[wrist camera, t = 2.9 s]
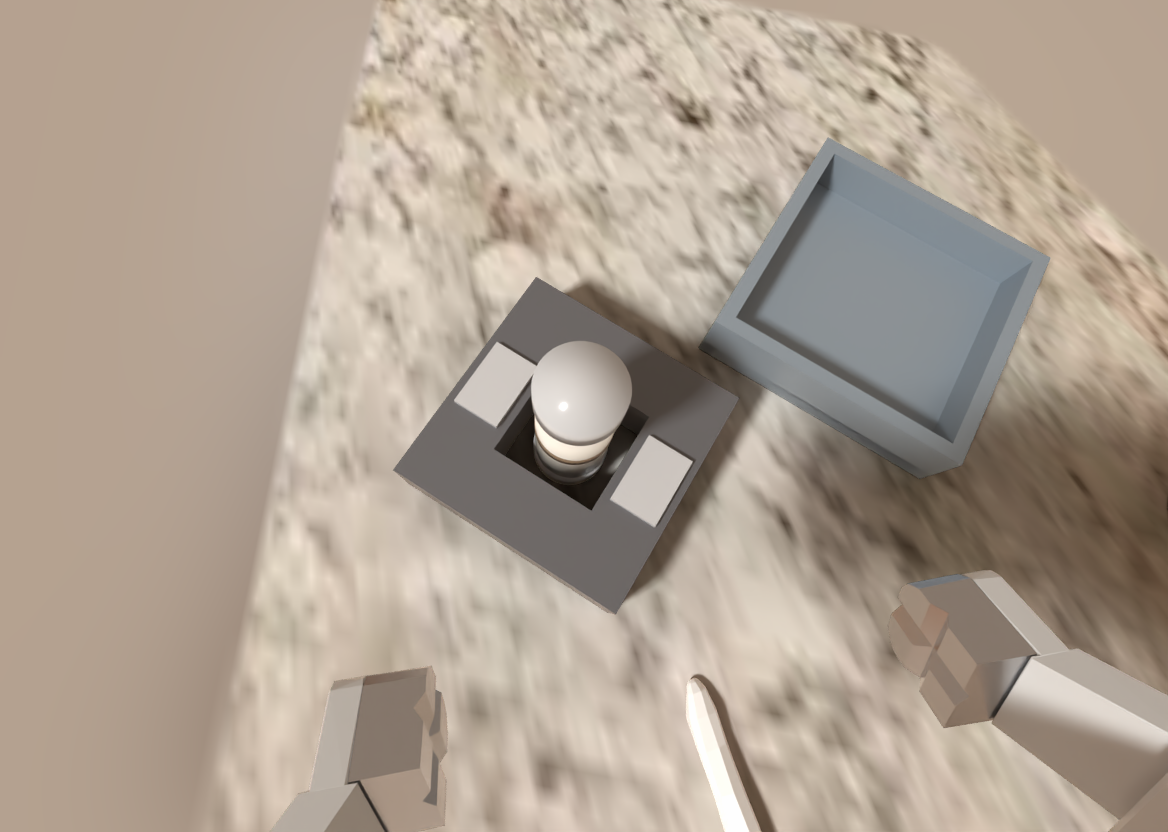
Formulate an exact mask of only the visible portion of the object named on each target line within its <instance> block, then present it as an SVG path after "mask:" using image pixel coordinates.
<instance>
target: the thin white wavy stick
mask: <svg viewBox="0 0 1168 832" xmlns="http://www.w3.org/2000/svg"><path fill="white" fill-rule="evenodd" d="M686 718H687V721H688V724H689V727H690V730H691V733H692V736H693V739H694V742H695V744H696V747H697V750H698V753H699V756H700V759H701V761H702V764H703V767H704V770H705V772H706V775H707V778H708V781H709V783H710V786H711V789H712V792H713V794H714V797H715V801H716V804H717V808H718V811H719V815H720V818H721V822H722V825H723V829H724V832H762V831H761V829H760V826H759V824H758V821H757V819H756V816H755V814H754V811H753V809H752V806H751V804H750V801H749V799H748V796H747V794H746V791H745V789H744V786H743V783H742V781H741V778H740V775H739V773H738V770H737V768H736V765H735V762H734V760H733V757H732V754H731V751H730V748H729V745H728V742H727V739H726V737H725V733H724V730H723V727H722V724H721V721H720V718H719V715H718V712H717V709H716V707H715V705H714V703H713V701H712V699H711V697H710V695H709V693H708V691H707V689H706V687H705V686H704V685H703V684H702V682H701V681H700V680H699V679H696V678H693V679H691V680H689V681H688V683H687V688H686Z"/></svg>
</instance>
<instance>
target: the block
mask: <svg viewBox="0 0 1168 832" xmlns="http://www.w3.org/2000/svg"><path fill="white" fill-rule="evenodd" d="M573 341H588V342H593V343H597V344H600V345H602V346H604V347H606V348H608V349H609V350H611V351H612V352H614V353H615V354H616V355H617V356H618V357H619V358H620V359H621V360H622V362H623V363H624V365H625V366H626V368H627V370H628V372H629V375H630V378H631V383H632V397H631V401H630V404H629V407H628V410H627V412H626V414H625V416H624V418H623V420H622V422H621V425H623V426H624V427H626V428H627V429H629V430H631V431H632V432H634V433H636V434H637V435H638V436H637V438H636V439H635V441H634V442H633V444H632V446H631V447H630V449H629V451H628V452H627V454H626V455H625V457H624V459H623V460H622V462H621V464H620V465H619V467H618V468H617V470H616V472H615V473H614V475H613V476H612V478H611V480H610V481H609V483H608V485H607V486H606V488H605V489H604V491H603V493H602V494H601V496H600V498H599V499H598V501H597V502H596V504H595V506H594V507H593V509H592V511H591V510H589V509H588V508H586V507H585V506H583V505H581V504H580V503H578V502H577V501H575V500H574V499H572V498H570V497H569V496H567V495H566V494H564V493H562V492H561V491H559V490H558V489H556V488H555V487H553V486H551V485H550V484H548V483H547V482H545V481H543V480H542V479H540V478H539V477H537V476H536V475H534V474H532V473H531V472H529V471H528V470H526V469H525V468H523V467H521V466H520V465H518V464H517V463H515V462H513V461H512V460H510V459H509V458H507V457H506V456H505V455H506V453H507V452H508V450H509V449H510V447H511V446H512V444H513V443H514V441H515V440H516V439H517V437H518V436H519V434H520V433H521V431H522V430H523V428H524V427H525V425H526V424H527V422H528V421H529V420H530V418H531V417H532V415H533V414H534V412H533V408H532V395H531V383H532V377H533V374H534V371H535V369H536V366H537V365H538V363H539V361H540V360H541V359H542V358H543V357H544V356H545V355H546V354H547V353H548V352H549V351H551V350H552V349H553V348H555V347H557V346H559V345H562V344H564V343H568V342H573ZM738 400H739V397H737V396H735V395H734V394H732V393H730V392H729V391H727V390H725V389H724V388H722V387H720V386H719V385H717V384H715V383H714V382H712V381H710V380H709V379H707V378H705V377H703V376H702V375H700V374H698V373H697V372H695V371H693V370H692V369H690V368H688V367H687V366H685V365H683V364H682V363H680V362H678V361H677V360H675V359H673V358H672V357H670V356H668V355H667V354H665V353H663V352H662V351H660V350H658V349H656V348H655V347H653V346H651V345H650V344H648V343H646V342H645V341H643V340H641V339H640V338H638V337H636V336H635V335H633V334H631V333H630V332H628V331H626V330H625V329H623V328H621V327H620V326H618V325H616V324H615V323H613V322H611V321H609V320H608V319H606V318H604V317H603V316H601V315H599V314H598V313H596V312H594V311H593V310H591V309H589V308H588V307H586V306H584V305H583V304H581V303H579V302H578V301H576V300H574V299H573V298H571V297H569V296H567V295H566V294H564V293H562V292H561V291H559V290H557V289H556V288H554V287H552V286H551V285H549V284H547V283H546V282H544V281H542V280H541V279H539V278H537V277H536V278H535V279H534V281H533V282H532V283H531V285H530V286H529V287H528V289H527V290H526V291H525V293H524V294H523V295H522V297H521V298H520V299H519V301H518V302H517V304H516V305H515V306H514V308H513V309H512V310H511V312H510V313H509V314H508V316H507V317H506V318H505V320H504V321H503V322H502V324H501V325H500V326H499V328H498V329H497V331H496V332H495V333H494V335H493V336H492V337H491V339H490V340H489V341H488V343H487V344H486V345H485V347H484V348H483V349H482V351H481V352H480V353H479V355H478V356H477V357H476V359H475V360H474V362H473V363H472V364H471V366H470V367H469V368H468V370H467V371H466V372H465V374H464V375H463V376H462V378H461V379H460V380H459V382H458V383H457V384H456V386H455V387H454V389H453V390H452V391H451V393H450V394H449V395H448V397H447V398H446V399H445V401H444V402H443V403H442V405H441V406H440V407H439V409H438V410H437V411H436V413H435V414H434V415H433V417H432V418H431V420H430V421H429V422H428V424H427V425H426V426H425V428H424V429H423V430H422V432H421V433H420V434H419V436H418V437H417V438H416V440H415V441H414V442H413V444H412V445H411V447H410V448H409V449H408V451H407V452H406V453H405V455H404V456H403V457H402V459H401V460H400V461H399V463H398V464H397V465H396V467H395V468H394V469H393V470H394V471H395V472H396V473H397V474H398V475H399V476H401V477H402V478H403V479H404V480H405V481H406V482H407V483H409V484H410V485H412V486H413V487H415V488H416V489H418V490H419V491H421V492H422V493H424V494H425V495H427V496H429V497H430V498H432V499H433V500H435V501H436V502H438V503H439V504H441V505H442V506H444V507H445V508H447V509H449V510H450V511H452V512H453V513H455V514H456V515H458V516H459V517H461V518H462V519H464V520H465V521H467V522H469V523H470V524H472V525H473V526H475V527H476V528H478V529H479V530H481V531H482V532H484V533H486V534H487V535H489V536H490V537H492V538H493V539H495V540H496V541H498V542H499V543H501V544H502V545H504V546H506V547H507V548H509V549H510V550H512V551H513V552H515V553H516V554H518V555H519V556H521V557H522V558H524V559H526V560H527V561H529V562H530V563H532V564H533V565H535V566H536V567H538V568H539V569H541V570H542V571H544V572H546V573H547V574H549V575H550V576H552V577H553V578H555V579H556V580H558V581H559V582H561V583H562V584H564V585H566V586H567V587H569V588H570V589H572V590H573V591H575V592H576V593H578V594H579V595H581V596H583V597H584V598H586V599H587V600H589V601H590V602H592V603H593V604H595V605H596V606H598V607H599V608H601V609H603V610H604V611H606V612H607V613H612V614H616V613H617V611H618V610H619V608H620V606H621V604H622V603H623V601H624V599H625V597H626V596H627V594H628V592H629V590H630V589H631V587H632V585H633V583H634V582H635V580H636V578H637V576H638V575H639V573H640V571H641V569H642V568H643V566H644V564H645V562H646V561H647V559H648V557H649V555H650V554H651V552H652V550H653V548H654V547H655V545H656V543H657V541H658V540H659V538H660V536H661V534H662V533H663V531H664V529H665V527H666V526H667V524H668V522H669V520H670V519H671V517H672V515H673V513H674V512H675V510H676V508H677V506H678V505H679V503H680V501H681V499H682V498H683V496H684V494H685V492H686V491H687V489H688V487H689V485H690V484H691V482H692V480H693V478H694V477H695V475H696V473H697V471H698V470H699V468H700V466H701V464H702V463H703V461H704V459H705V457H706V456H707V454H708V452H709V450H710V449H711V447H712V445H713V443H714V442H715V440H716V438H717V436H718V435H719V433H720V431H721V429H722V428H723V426H724V424H725V422H726V421H727V419H728V417H729V415H730V414H731V412H732V410H733V408H734V407H735V405H736V403H737V401H738Z"/></svg>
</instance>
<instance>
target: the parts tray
mask: <svg viewBox="0 0 1168 832" xmlns="http://www.w3.org/2000/svg"><path fill="white" fill-rule="evenodd" d="M1049 260H1050V257H1048V256H1046V255H1044V254H1043V253H1041V252H1039V251H1037V250H1035V249H1033V248H1031V247H1030V246H1028V245H1026V244H1024V243H1022V242H1020V241H1018V240H1017V239H1015V238H1013V237H1011V236H1009V235H1007V234H1006V233H1004V232H1002V231H1000V230H998V229H996V228H994V227H993V226H991V225H989V224H987V223H985V222H983V221H981V220H980V219H978V218H976V217H974V216H972V215H970V214H969V213H967V212H965V211H963V210H961V209H959V208H957V207H956V206H954V205H952V204H950V203H948V202H946V201H944V200H943V199H941V198H939V197H937V196H935V195H933V194H932V193H930V192H928V191H926V190H924V189H922V188H920V187H919V186H917V185H915V184H913V183H911V182H909V181H907V180H906V179H904V178H902V177H900V176H898V175H896V174H895V173H893V172H891V171H889V170H887V169H885V168H883V167H882V166H880V165H878V164H876V163H874V162H872V161H870V160H869V159H867V158H865V157H863V156H861V155H859V154H858V153H856V152H854V151H852V150H850V149H848V148H846V147H845V146H843V145H841V144H839V143H837V142H835V141H833V140H832V139H830V138H827V140H826V141H825V143H824V145H823V146H822V148H821V149H820V151H819V153H818V154H817V156H816V157H815V159H814V161H813V162H812V164H811V165H810V167H809V169H808V170H807V172H806V173H805V175H804V177H803V178H802V180H801V181H800V183H799V185H798V186H797V188H796V190H795V191H794V193H793V194H792V196H791V198H790V199H789V201H788V203H787V204H786V206H785V208H784V209H783V211H782V212H781V214H780V216H779V217H778V219H777V221H776V222H775V224H774V225H773V227H772V229H771V230H770V232H769V234H768V235H767V237H766V239H765V240H764V242H763V243H762V245H761V247H760V248H759V250H758V252H757V253H756V255H755V256H754V258H753V260H752V261H751V263H750V265H749V266H748V268H747V269H746V271H745V273H744V274H743V276H742V278H741V279H740V281H739V283H738V284H737V286H736V287H735V289H734V291H733V292H732V294H731V296H730V297H729V299H728V300H727V302H726V304H725V305H724V307H723V309H722V310H721V312H720V313H719V315H718V317H717V318H716V320H715V322H714V323H713V325H712V327H711V328H710V330H709V331H708V333H707V335H706V336H705V338H704V340H703V341H702V343H701V344H700V346H699V349H701V350H702V351H704V352H706V353H707V354H709V355H711V356H712V357H714V358H716V359H718V360H719V361H721V362H723V363H724V364H726V365H728V366H729V367H731V368H733V369H734V370H736V371H738V372H740V373H741V374H743V375H745V376H746V377H748V378H750V379H751V380H753V381H755V382H756V383H758V384H760V385H762V386H763V387H765V388H767V389H768V390H770V391H772V392H773V393H775V394H777V395H778V396H780V397H782V398H784V399H785V400H787V401H789V402H790V403H792V404H794V405H795V406H797V407H799V408H800V409H802V410H804V411H806V412H807V413H809V414H811V415H812V416H814V417H816V418H817V419H819V420H821V421H822V422H824V423H826V424H828V425H829V426H831V427H833V428H834V429H836V430H838V431H839V432H841V433H843V434H844V435H846V436H848V437H850V438H851V439H853V440H855V441H856V442H858V443H860V444H861V445H863V446H865V447H866V448H868V449H870V450H872V451H873V452H875V453H877V454H878V455H880V456H882V457H883V458H885V459H887V460H888V461H890V462H892V463H894V464H895V465H897V466H899V467H900V468H902V469H904V470H905V471H907V472H909V473H910V474H912V475H914V476H916V477H917V478H919V479H921V478H924V477H927V476H930V475H933V474H937V473H940V472H943V471H946V470H949V469H953V468H956V467H959V466H962V464H963V462H964V460H965V457H966V455H967V453H968V450H969V448H970V445H971V443H972V441H973V438H974V436H975V434H976V431H977V429H978V427H979V424H980V422H981V420H982V417H983V415H984V413H985V410H986V408H987V406H988V403H989V401H990V399H991V396H992V394H993V392H994V389H995V387H996V385H997V382H998V380H999V378H1000V375H1001V373H1002V371H1003V368H1004V366H1005V364H1006V361H1007V359H1008V356H1009V354H1010V352H1011V349H1012V347H1013V345H1014V342H1015V340H1016V338H1017V335H1018V333H1019V331H1020V328H1021V326H1022V324H1023V321H1024V319H1025V317H1026V314H1027V312H1028V310H1029V307H1030V305H1031V303H1032V300H1033V298H1034V296H1035V293H1036V291H1037V289H1038V286H1039V284H1040V282H1041V279H1042V277H1043V275H1044V272H1045V270H1046V267H1047V265H1048V263H1049Z"/></svg>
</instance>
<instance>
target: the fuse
mask: <svg viewBox="0 0 1168 832" xmlns="http://www.w3.org/2000/svg"><path fill="white" fill-rule="evenodd" d="M531 395H532V408H533V412H534V415H535V419H534V425H535V435H534V441H533V442H534V457H535V461H536V463H537V466H538V467H539V469H540V470H541V472H542V473H543V474H544V475H545V476H546V477H547V478H549V479H550V480H552V481H554V482H556V483H559V484H563V485H576V484H580V483H583V482H585V481H587V480H589V479H590V478H592V477H593V476H594V475H595V474H596V473H597V472H598V470H599V469H600V467H601V466H602V463H603V461H604V459H605V457H606V454H607V450H608V446H609V444H610V442H611V440H612V437H613V435H614V432H615V431H616V430H617V428H618V427H619V426H620V424H621V422H622V420H623V418H624V416H625V414H626V412H627V410H628V407H629V404H630V401H631V397H632V383H631V378H630V375H629V372H628V370H627V368H626V366H625V365H624V363H623V362H622V360H621V359H620V358H619V357H618V356H617V355H616V354H615V353H614V352H612V351H611V350H609V349H608V348H606V347H604V346H602V345H600V344H597V343H593V342H588V341H573V342H568V343H564V344H562V345H559V346H557V347H555V348H553V349H552V350H551V351H549V352H548V353H547V354H546V355H545V356H544V357H543V358H542V359H541V360H540V361H539V363H538V365H537V366H536V369H535V371H534V374H533V377H532V383H531Z"/></svg>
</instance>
